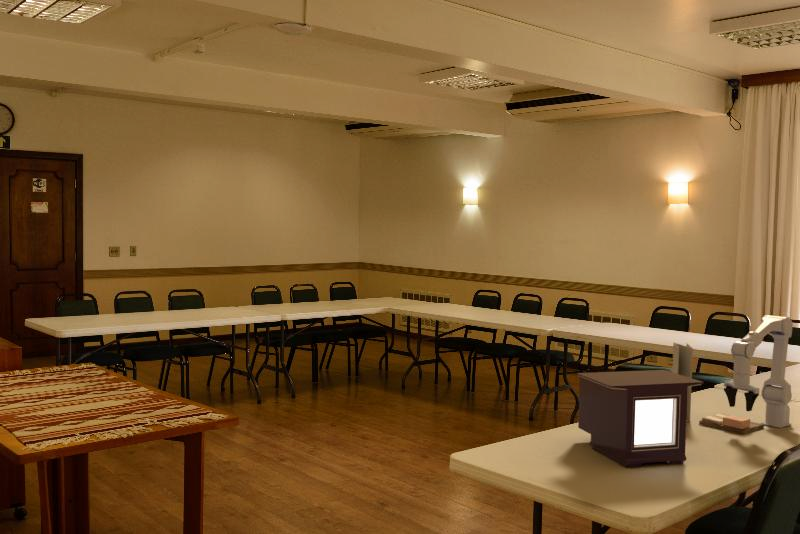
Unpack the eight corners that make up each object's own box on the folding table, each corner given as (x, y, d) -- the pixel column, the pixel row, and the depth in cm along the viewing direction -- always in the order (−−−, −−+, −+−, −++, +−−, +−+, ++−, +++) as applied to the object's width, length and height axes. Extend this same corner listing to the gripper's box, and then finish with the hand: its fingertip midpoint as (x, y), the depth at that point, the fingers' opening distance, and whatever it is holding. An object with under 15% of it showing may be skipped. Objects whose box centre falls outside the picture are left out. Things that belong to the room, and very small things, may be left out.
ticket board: (721, 418, 323) (721, 412, 323) (763, 428, 309) (763, 421, 308) (699, 424, 313) (699, 417, 313) (742, 434, 299) (742, 427, 299)
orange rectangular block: (730, 422, 310) (731, 415, 310) (749, 426, 304) (750, 419, 304) (722, 424, 306) (722, 417, 306) (741, 429, 300) (742, 421, 300)
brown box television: (702, 463, 261) (705, 382, 260) (609, 470, 252) (611, 386, 251) (642, 435, 295) (645, 364, 294) (558, 440, 286) (560, 367, 284)
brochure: (690, 422, 317) (692, 348, 315) (675, 421, 318) (678, 347, 316) (684, 413, 331) (687, 343, 329) (671, 413, 332) (673, 342, 330)
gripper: (718, 370, 302) (717, 405, 303) (750, 377, 289) (749, 413, 290) (731, 369, 305) (730, 403, 306) (763, 376, 293) (762, 412, 293)
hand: (740, 408), depth 298 cm, fingers open, 7 cm apart
